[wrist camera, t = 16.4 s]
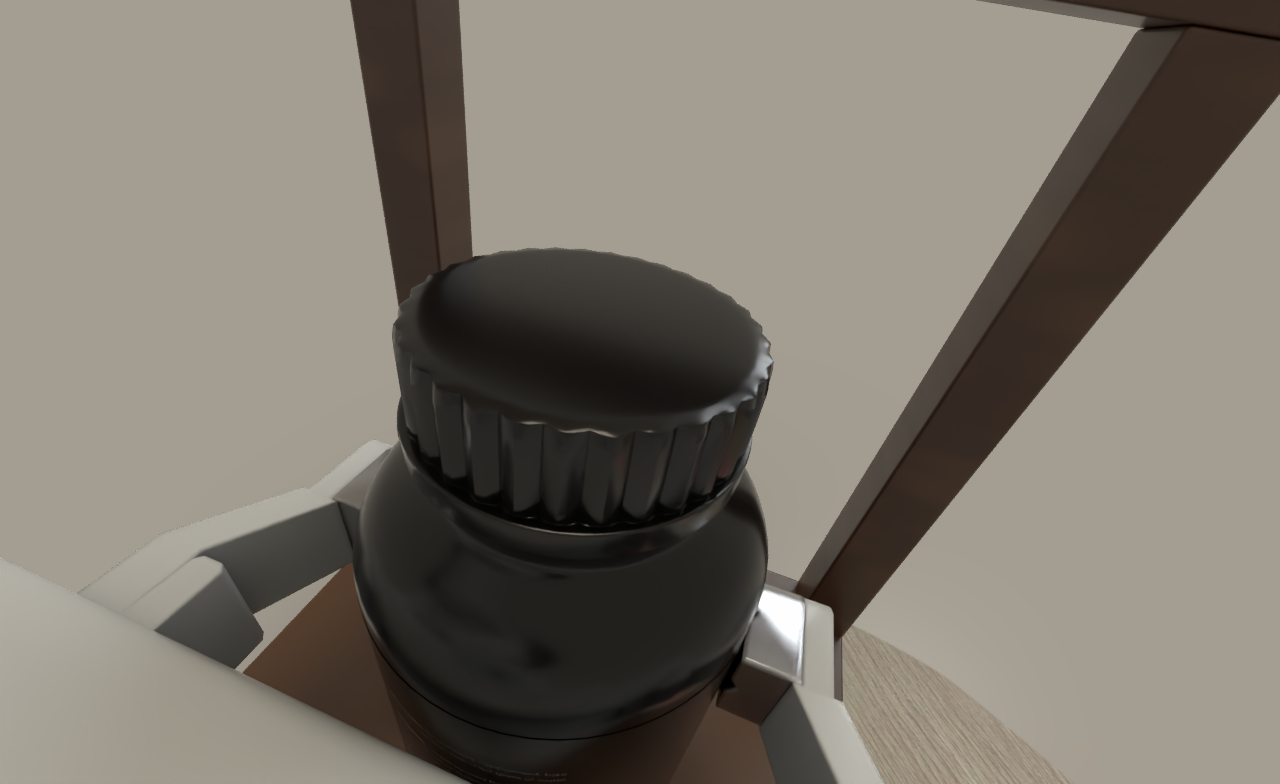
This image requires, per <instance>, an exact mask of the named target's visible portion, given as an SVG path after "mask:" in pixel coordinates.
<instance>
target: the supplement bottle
mask: <svg viewBox="0 0 1280 784" xmlns="http://www.w3.org/2000/svg"><path fill="white" fill-rule="evenodd" d="M392 340H393V348H394V354H395V360H396V365H397V372H398V378H399V384H400V390H401V397H400V401H399V405H398V411H397V431H398V437H399V441H398V442H397V443H396V444H395V446H394V447H393V448H392V449H391V451H390V452H389V453H388V455H387V456H386V458H385V459H384V460H383V462H382V463H381V465H380V467H379V468H378V470H377V472H376V474H375V475H374V477H373V479H372V481H371V483H370V485H369V487H368V489H367V492H366V494H365V496H364V499H363V501H362V504H361V507H360V511H359V514H358V517H357V521H356V527H355V533H354V539H353V558H352V562H353V572H354V581H355V587H356V591H357V597H358V601H359V605H360V609H361V613H362V617H363V620H364V624H365V627H366V630H367V633H368V636H369V639H370V642H371V645H372V648H373V651H374V654H375V658H376V661H377V664H378V667H379V670H380V673H381V676H382V679H383V682H384V685H385V688H386V691H387V694H388V697H389V700H390V703H391V706H392V709H393V712H394V715H395V718H396V721H397V724H398V727H399V730H400V733H401V736H402V739H403V742H404V745H405V748H406V751H407V753H409V754H411V755H413V756H415V757H417V758H419V759H422V760H424V761H426V762H428V763H430V764H432V765H434V766H436V767H438V768H440V769H442V770H444V771H447V772H449V773H451V774H453V775H455V776H457V777H459V778H461V779H463V780H465V781H467V782H469V783H471V784H669V783H670V781H671V779H672V777H673V775H674V773H675V771H676V769H677V767H678V766H679V764H680V762H681V760H682V758H683V756H684V754H685V752H686V750H687V748H688V746H689V745H690V743H691V741H692V739H693V737H694V735H695V733H696V731H697V729H698V727H699V725H700V724H701V722H702V720H703V718H704V716H705V714H706V712H707V710H708V708H709V706H710V705H711V703H712V701H713V699H714V697H715V695H716V693H717V691H718V689H719V687H720V685H721V684H722V682H723V680H724V678H725V676H726V674H727V672H728V670H729V668H730V666H731V664H732V662H733V661H734V659H735V657H736V655H737V653H738V651H739V649H740V647H741V645H742V643H743V641H744V639H745V637H746V635H747V633H748V631H749V629H750V627H751V624H752V621H753V619H754V617H755V614H756V611H757V608H758V606H759V603H760V600H761V597H762V594H763V590H764V585H765V581H766V574H767V564H768V539H767V532H766V525H765V519H764V515H763V511H762V507H761V503H760V500H759V497H758V494H757V492H756V489H755V487H754V484H753V482H752V480H751V478H750V476H749V474H748V472H747V470H746V468H745V466H746V464H747V461H748V458H749V454H750V450H751V444H752V434H753V431H754V428H755V426H756V423H757V420H758V418H759V415H760V412H761V409H762V407H763V404H764V401H765V398H766V395H767V391H768V385H769V381H770V378H771V374H772V370H773V359H772V358H771V356H770V345H771V344H770V342H769V341H768V340H767V339H766V337H765V336H764V335H763V334H762V326H761V325H760V324H759V323H757V322H756V321H755V320H754V319H752V318H751V316H750V312H749V311H748V310H746V309H745V308H744V307H742V306H740V305H739V304H737V303H736V302H735V300H734V299H733V298H732V297H731V296H729V295H727V294H725V293H723V292H720V291H718V290H717V289H716V288H715V287H713V286H712V285H711V284H708V283H706V282H703V281H700V280H698V279H696V278H694V277H692V276H691V275H689V274H687V273H684V272H680V271H677V270H673V269H671V268H669V267H667V266H665V265H661V264H657V263H652V262H648V261H645V260H642V259H639V258H636V257H629V256H622V255H619V254H615V253H611V252H597V251H592V250H586V249H564V248H547V249H536V248H527V249H522V250H517V251H500V252H497V253H494V254H491V255H482V256H474V257H473V258H471V259H469V260H467V261H464V262H459V263H454V264H450V265H449V266H448V267H447V268H446V269H445V270H442V271H439V272H436V273H433V274H430V275H429V276H428V277H427V279H426V281H425V282H424V283H422V284H419V285H417V286H415V287H413V288H412V289H411V293H410V297H409V298H408V299H406V300H405V301H403V302H402V303H401V304H400V305H399V310H398V319H397V320H396V321H395V323H394V324H393V332H392Z"/></svg>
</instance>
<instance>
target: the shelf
mask: <svg viewBox="0 0 1280 784" xmlns="http://www.w3.org/2000/svg"><path fill="white" fill-rule="evenodd" d="M978 1H984V2H991V3H997V4H1002V5H1008V6H1015V7H1020V8H1026V9H1032V10H1038V11H1044V12H1050V13H1056V14H1062V15H1067V16H1074V17H1079V18H1085V19H1091V20H1097V21H1103V22H1109V23H1115V24H1121V25H1127V26H1133V27H1139V28H1144V29H1140V30H1138V31H1137V32H1136V33H1135V35H1134V36H1133V38H1132V40H1131V41H1130V43H1129V44H1128V46H1127V48H1126V49H1125V51H1124V53H1123V54H1122V56H1121V58H1120V59H1119V61H1118V62H1117V64H1116V66H1115V67H1114V69H1113V71H1112V72H1111V74H1110V75H1109V77H1108V79H1107V80H1106V82H1105V83H1104V85H1103V87H1102V88H1101V90H1100V92H1099V93H1098V95H1097V96H1096V98H1095V100H1094V101H1093V103H1092V105H1091V107H1090V108H1089V110H1088V111H1087V113H1086V114H1085V116H1084V118H1083V119H1082V121H1081V122H1080V124H1079V126H1078V127H1077V129H1076V131H1075V132H1074V134H1073V136H1072V137H1071V139H1070V140H1069V142H1068V144H1067V146H1066V147H1065V149H1064V150H1063V152H1062V154H1061V155H1060V157H1059V158H1058V160H1057V162H1056V163H1055V165H1054V166H1053V168H1052V170H1051V171H1050V173H1049V175H1048V176H1047V178H1046V179H1045V181H1044V183H1043V184H1042V186H1041V188H1040V189H1039V191H1038V193H1037V194H1036V196H1035V197H1034V199H1033V201H1032V202H1031V204H1030V205H1029V207H1028V209H1027V210H1026V212H1025V214H1024V215H1023V217H1022V219H1021V220H1020V222H1019V224H1018V225H1017V227H1016V228H1015V230H1014V232H1013V233H1012V235H1011V236H1010V238H1009V240H1008V241H1007V243H1006V245H1005V246H1004V248H1003V249H1002V251H1001V253H1000V254H999V256H998V258H997V259H996V261H995V262H994V264H993V266H992V267H991V269H990V271H989V272H988V274H987V275H986V277H985V279H984V280H983V282H982V284H981V285H980V287H979V288H978V290H977V292H976V293H975V295H974V297H973V298H972V300H971V302H970V303H969V305H968V306H967V308H966V310H965V311H964V313H963V315H962V316H961V318H960V319H959V321H958V323H957V324H956V326H955V328H954V329H953V331H952V332H951V334H950V336H949V337H948V339H947V341H946V342H945V344H944V345H943V347H942V349H941V350H940V352H939V354H938V355H937V357H936V359H935V360H934V362H933V364H932V365H931V367H930V368H929V370H928V371H927V373H926V375H925V377H924V378H923V380H922V381H921V383H920V384H919V386H918V388H917V389H916V391H915V393H914V394H913V396H912V398H911V399H910V401H909V402H908V404H907V406H906V407H905V409H904V411H903V412H902V414H901V415H900V417H899V419H898V420H897V422H896V424H895V425H894V427H893V428H892V430H891V432H890V433H889V435H888V437H887V438H886V440H885V441H884V443H883V445H882V446H881V448H880V450H879V451H878V453H877V455H876V456H875V458H874V460H873V461H872V463H871V464H870V466H869V467H868V470H867V471H866V473H865V474H864V476H863V477H862V479H861V481H860V482H859V484H858V485H857V487H856V489H855V490H854V492H853V494H852V495H851V497H850V498H849V500H848V502H847V503H846V505H845V507H844V508H843V510H842V511H841V513H840V515H839V516H838V518H837V520H836V521H835V523H834V524H833V526H832V528H831V529H830V531H829V533H828V534H827V536H826V538H825V540H824V541H823V542H822V544H821V546H820V547H819V549H818V551H817V552H816V554H815V556H814V557H813V559H812V560H811V562H810V564H809V565H808V567H807V568H806V570H805V572H804V573H803V575H802V577H801V578H800V580H799V581H796V580H793V579H790V578H787V577H785V576H782V575H779V574H777V573H774V572H771V571H768V570H767V574H766V581H765V583H766V584H769V585H772V586H775V587H777V588H780V589H783V590H786V591H789V592H792V593H795V594H797V595H800V596H802V597H803V598H806V599H809V600H812V601H815V602H817V603H820V604H823V605H826V606H829V607H830V608H831V609H832V612H833V614H834V699H837V700H839V701H841V702H843V686H842V636H843V635H844V634H845V633H846V631H847V630H848V629H849V628H850V627H851V625H852V624H853V623H854V621H855V620H856V619H857V618H858V617H859V615H860V614H861V613H862V612H863V610H864V609H865V608H866V607H867V605H868V604H869V603H870V602H871V600H872V599H873V598H874V597H875V596H876V594H877V593H878V592H879V590H880V589H881V588H882V587H883V585H884V584H885V583H886V582H887V581H888V579H889V578H890V577H891V575H892V574H893V573H894V572H895V571H896V569H897V568H898V567H899V566H900V565H901V563H902V562H903V561H904V560H905V558H906V557H907V556H908V554H909V553H910V552H911V551H912V549H913V548H914V547H915V546H916V545H917V543H918V542H919V541H920V540H921V538H922V537H923V536H924V535H925V533H926V532H927V531H928V530H929V528H930V527H931V526H932V525H933V524H934V522H935V521H936V520H937V519H938V517H939V516H940V515H941V514H942V512H943V511H944V510H945V509H946V507H947V506H948V505H949V504H950V502H951V501H952V500H953V499H954V498H955V496H956V495H957V494H958V493H959V491H960V490H961V489H962V488H963V486H964V485H965V484H966V483H967V481H968V480H969V479H970V478H971V476H972V475H973V474H974V473H975V471H976V470H977V469H978V468H979V466H980V465H981V464H982V462H983V461H984V460H985V459H986V458H987V457H988V455H989V454H990V453H991V451H992V450H993V449H994V448H995V447H996V445H997V444H998V443H999V441H1000V440H1001V439H1002V438H1003V437H1004V435H1005V434H1006V433H1007V432H1008V431H1009V429H1010V428H1011V427H1012V426H1013V424H1014V423H1015V422H1016V420H1017V419H1018V418H1019V417H1020V416H1021V414H1022V413H1023V412H1024V411H1025V409H1026V408H1027V407H1028V406H1029V404H1030V403H1031V402H1032V401H1033V399H1034V398H1035V397H1036V396H1037V395H1038V393H1039V392H1040V391H1041V389H1042V388H1043V387H1044V386H1045V385H1046V383H1047V382H1048V381H1049V380H1050V378H1051V377H1052V376H1053V375H1054V373H1055V372H1056V371H1057V370H1058V368H1059V367H1060V366H1061V365H1062V364H1063V362H1064V361H1065V360H1066V359H1067V357H1068V356H1069V355H1070V354H1071V352H1072V351H1073V350H1074V349H1075V347H1076V346H1077V345H1078V344H1079V342H1080V341H1081V340H1082V339H1083V337H1084V336H1085V335H1086V334H1087V333H1088V331H1089V330H1090V329H1091V327H1092V326H1093V325H1094V324H1095V323H1096V321H1097V320H1098V319H1099V318H1100V316H1101V315H1102V314H1103V312H1104V311H1105V310H1106V309H1107V308H1108V306H1109V305H1110V304H1111V303H1112V301H1113V300H1114V299H1115V298H1116V297H1117V295H1118V294H1119V293H1120V291H1121V290H1122V289H1123V288H1124V287H1125V285H1126V284H1127V283H1128V282H1129V280H1130V279H1131V278H1132V277H1133V275H1134V274H1135V273H1136V272H1137V270H1138V269H1139V268H1140V267H1141V266H1142V264H1143V263H1144V261H1146V259H1147V258H1148V257H1149V255H1150V254H1151V253H1152V252H1153V251H1154V249H1155V248H1156V247H1157V246H1158V244H1159V243H1160V242H1161V241H1162V239H1163V238H1164V237H1165V236H1166V234H1167V233H1168V232H1169V231H1170V230H1171V228H1172V227H1173V226H1174V225H1175V223H1176V222H1177V221H1178V220H1179V218H1180V217H1181V216H1182V215H1183V213H1184V212H1185V211H1186V210H1187V208H1188V207H1189V206H1190V205H1191V203H1192V202H1193V201H1194V200H1195V199H1196V197H1197V196H1198V195H1199V194H1200V192H1201V191H1202V190H1203V189H1204V187H1205V186H1206V185H1207V184H1208V182H1209V181H1210V180H1211V179H1212V177H1213V176H1214V175H1215V173H1216V172H1217V171H1218V170H1219V169H1220V167H1221V166H1222V165H1223V164H1224V163H1225V161H1226V160H1227V159H1228V158H1229V156H1230V155H1231V154H1232V152H1233V151H1234V150H1235V149H1236V148H1237V146H1238V145H1239V144H1240V143H1241V141H1242V140H1243V139H1244V138H1245V137H1246V135H1247V134H1248V133H1249V132H1250V130H1251V129H1252V128H1253V127H1254V125H1255V124H1256V123H1257V122H1258V120H1259V119H1260V118H1261V117H1262V115H1263V114H1264V113H1265V112H1266V110H1267V109H1268V108H1269V107H1270V105H1271V104H1272V103H1273V102H1274V100H1275V99H1276V98H1277V97H1278V95H1279V94H1280V0H978ZM350 2H351V8H352V15H353V20H354V27H355V33H356V39H357V46H358V52H359V59H360V65H361V71H362V78H363V84H364V90H365V97H366V103H367V109H368V116H369V121H370V128H371V135H372V140H373V147H374V153H375V160H376V166H377V173H378V178H379V185H380V192H381V198H382V204H383V211H384V217H385V223H386V229H387V236H388V242H389V249H390V255H391V261H392V267H393V273H394V280H395V286H396V293H397V299H398V306H399V305H400V304H401V303H402V302H403V301H405V300H406V299H408V298H409V297H410V293H411V289H412V288H413V287H415V286H417V285H419V284H422V283H424V282H425V281H426V279H427V277H428V276H429V275H430V274H433V273H436V272H439V271H442V270H445V269H446V268H447V267H448V266H449V265H450V264H454V263H459V262H464V261H467V260H469V259H471V258H473V256H472V236H471V217H470V200H469V182H468V181H469V180H468V163H467V143H466V125H465V106H464V90H463V89H464V87H463V69H462V52H461V51H462V50H461V32H460V15H459V0H350ZM243 674H245V675H247V676H249V677H251V678H253V679H255V680H257V681H259V682H261V683H263V684H266V685H268V686H270V687H272V688H274V689H276V690H278V691H280V692H282V693H284V694H286V695H288V696H291V697H293V698H295V699H297V700H299V701H301V702H303V703H305V704H307V705H309V706H311V707H313V708H315V709H318V710H320V711H322V712H324V713H326V714H328V715H330V716H332V717H334V718H336V719H338V720H340V721H343V722H345V723H347V724H349V725H351V726H353V727H355V728H357V729H359V730H361V731H363V732H365V733H367V734H370V735H372V736H374V737H376V738H378V739H380V740H382V741H384V742H386V743H388V744H390V745H392V746H395V747H397V748H399V749H401V750H403V751H405V752H407V751H406V748H405V745H404V742H403V739H402V736H401V733H400V730H399V727H398V724H397V721H396V718H395V715H394V712H393V709H392V706H391V703H390V700H389V697H388V694H387V691H386V688H385V685H384V682H383V679H382V676H381V673H380V670H379V667H378V664H377V661H376V658H375V654H374V651H373V648H372V645H371V642H370V639H369V636H368V633H367V630H366V627H365V624H364V620H363V617H362V613H361V609H360V605H359V601H358V597H357V591H356V587H355V581H354V572H353V562H352V563H350V564H348V565H346V566H344V567H342V568H341V569H340V571H339V572H338V573H337V574H336V575H335V576H334V577H333V578H332V579H331V580H330V581H329V582H328V583H327V584H326V586H324V587H323V588H322V590H321V591H320V592H319V593H318V594H317V595H316V596H315V597H314V598H313V599H312V600H311V601H310V602H309V603H308V604H307V605H306V607H304V608H303V610H302V611H301V612H300V613H299V614H298V615H297V616H296V617H295V618H294V619H293V620H292V621H291V622H290V623H289V624H288V625H287V626H286V627H285V628H284V630H283V631H282V632H281V633H280V634H279V635H278V636H277V637H276V638H275V639H274V640H273V641H272V642H271V643H270V644H269V645H268V646H267V648H265V649H264V651H263V652H262V653H261V654H260V655H259V656H258V657H257V658H256V659H255V660H254V661H253V662H252V663H251V664H250V665H249V666H248V667H247V668H246V669H245V671H244V672H243ZM717 694H718V691H717V693H716V695H715V697H714V699H713V701H712V703H711V705H710V706H709V708H708V710H707V712H706V714H705V716H704V718H703V720H702V722H701V724H700V725H699V727H698V729H697V731H696V733H695V735H694V737H693V739H692V741H691V743H690V745H689V746H688V748H687V750H686V752H685V754H684V756H683V758H682V760H681V762H680V764H679V766H678V767H677V769H676V771H675V773H674V775H673V777H672V779H671V781H670V783H669V784H776V781H775V778H774V775H773V772H772V769H771V766H770V762H769V759H768V756H767V753H766V750H765V746H764V743H763V740H762V737H761V734H760V731H759V727H760V726H759V725H756V724H754V723H752V722H750V721H747V720H745V719H743V718H741V717H739V716H736V715H734V714H732V713H730V712H727V711H725V710H723V709H721V708H718V707H716V700H717Z"/></svg>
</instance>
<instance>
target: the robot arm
mask: <svg viewBox="0 0 1280 784" xmlns="http://www.w3.org/2000/svg"><path fill="white" fill-rule="evenodd" d="M393 447H394V446H392V445H389V444H386V443H383V442H381V441H378V440H376V439H374V440H372V441H369V442H366V443H365V444H363V446H361V447H360V448H359V449H357V450H356V451H355V452H354V453H352V454H351V455H350V456H349V457H348V458H347V459H345V460H344V461H343V462H342V463H341V464H339V465H338V466H337V467H336V468H334V469H333V470H332V471H331V472H329V474H327V475H326V476H325V477H323V478H322V479H321V480H320V481H319V482H318V483H316V484H315V485H314V486H313V487H311V488H310V489H309V490H308V489H306V488H300V489H296V490H294V491H290V492H287V493H284V494H281V495H278V496H275V497H272V498H269V499H266V500H263V501H259V502H256V503H253V504H250V505H247V506H244V507H241V508H238V509H235V510H232V511H229V512H226V513H223V514H220V515H216V516H213V517H210V518H208V519H204V520H201V521H198V522H195V523H192V524H189V525H186V526H182V527H180V528H176V529H173V530H170V531H167V532H164V533H161V534H159V535H158V536H157V537H155V538H154V539H152V540H151V541H150V542H148V543H147V544H146V545H144V546H143V547H141V548H140V549H138V550H137V551H135V552H134V553H133V554H132V555H130V556H129V557H127V558H126V559H124V560H123V561H122V562H120V563H119V564H117V565H116V566H114V567H113V568H112V569H110V570H109V571H107V572H106V573H105V574H103V575H102V576H100V577H99V578H98V579H96V580H95V581H93V582H92V583H91V584H89V585H88V586H86V587H85V588H83V589H82V590H81V591H79V592H78V593H74V592H72V591H70V590H68V589H65V588H64V587H62V586H59V585H57V584H55V583H53V582H51V581H49V580H47V579H45V578H43V577H41V576H39V575H37V574H35V573H32V572H30V571H28V570H26V569H24V568H22V567H20V566H18V565H16V564H14V563H12V562H10V561H8V560H5V559H3V558H1V557H0V784H471V783H469V782H467V781H465V780H463V779H461V778H459V777H457V776H455V775H453V774H451V773H449V772H447V771H444V770H442V769H440V768H438V767H436V766H434V765H432V764H430V763H428V762H426V761H424V760H422V759H419V758H417V757H415V756H413V755H411V754H409V753H407V752H405V751H403V750H401V749H399V748H397V747H395V746H392V745H390V744H388V743H386V742H384V741H382V740H380V739H378V738H376V737H374V736H372V735H370V734H367V733H365V732H363V731H361V730H359V729H357V728H355V727H353V726H351V725H349V724H347V723H345V722H343V721H340V720H338V719H336V718H334V717H332V716H330V715H328V714H326V713H324V712H322V711H320V710H318V709H315V708H313V707H311V706H309V705H307V704H305V703H303V702H301V701H299V700H297V699H295V698H293V697H291V696H288V695H286V694H284V693H282V692H280V691H278V690H276V689H274V688H272V687H270V686H268V685H266V684H263V683H261V682H259V681H257V680H255V679H253V678H251V677H249V676H247V675H245V674H243V673H241V672H238V671H236V670H234V669H235V668H236V667H237V666H238V665H239V664H240V663H241V662H242V661H243V660H244V659H245V658H246V657H247V656H248V655H249V654H250V653H251V652H252V651H253V649H254V648H255V647H256V646H257V645H258V644H259V643H260V642H261V641H262V640H263V633H264V632H263V630H262V629H261V627H260V625H259V624H258V622H257V620H256V619H255V617H254V616H253V614H254V613H256V612H258V611H260V610H262V609H264V608H266V607H268V606H269V605H272V604H273V603H275V602H277V601H279V600H281V599H283V598H285V597H287V596H289V595H291V594H293V593H295V592H296V591H298V590H300V589H302V588H304V587H306V586H308V585H310V584H312V583H314V582H316V581H317V580H319V579H321V578H323V577H325V576H327V575H329V574H331V573H333V572H334V571H336V570H338V569H340V568H342V567H344V566H346V565H348V564H350V563H352V558H353V539H354V533H355V527H356V521H357V517H358V514H359V511H360V507H361V504H362V501H363V499H364V496H365V494H366V492H367V489H368V487H369V485H370V483H371V481H372V479H373V477H374V475H375V474H376V472H377V470H378V468H379V467H380V465H381V463H382V462H383V460H384V459H385V458H386V456H387V455H388V453H389V452H390V451H391V449H392V448H393ZM716 707H718V708H721V709H723V710H725V711H727V712H730V713H732V714H734V715H736V716H739V717H741V718H743V719H745V720H747V721H750V722H752V723H754V724H756V725H759V726H760V727H759V731H760V734H761V737H762V740H763V743H764V746H765V750H766V753H767V756H768V759H769V762H770V766H771V769H772V772H773V775H774V778H775V781H776V784H884V782H883V780H882V778H881V776H880V774H879V772H878V770H877V768H876V766H875V764H874V762H873V760H872V758H871V757H870V755H869V753H868V751H867V749H866V747H865V745H864V743H863V741H862V739H861V737H860V735H859V733H858V731H857V729H856V727H855V725H854V723H853V721H852V720H851V718H850V716H849V714H848V712H847V710H846V708H845V706H844V704H843V702H841V701H839V700H837V699H834V614H833V612H832V609H831V608H830V607H829V606H826V605H823V604H820V603H817V602H815V601H812V600H809V599H806V598H803V597H802V596H800V595H797V594H795V593H792V592H789V591H786V590H783V589H780V588H777V587H775V586H772V585H769V584H766V583H765V585H764V590H763V594H762V597H761V600H760V603H759V606H758V608H757V611H756V614H755V617H754V619H753V621H752V624H751V627H750V629H749V631H748V633H747V635H746V637H745V639H744V641H743V643H742V645H741V647H740V649H739V651H738V653H737V655H736V657H735V659H734V661H733V662H732V664H731V666H730V668H729V670H728V672H727V674H726V676H725V678H724V680H723V682H722V684H721V685H720V687H719V689H718V694H717V700H716Z"/></svg>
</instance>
